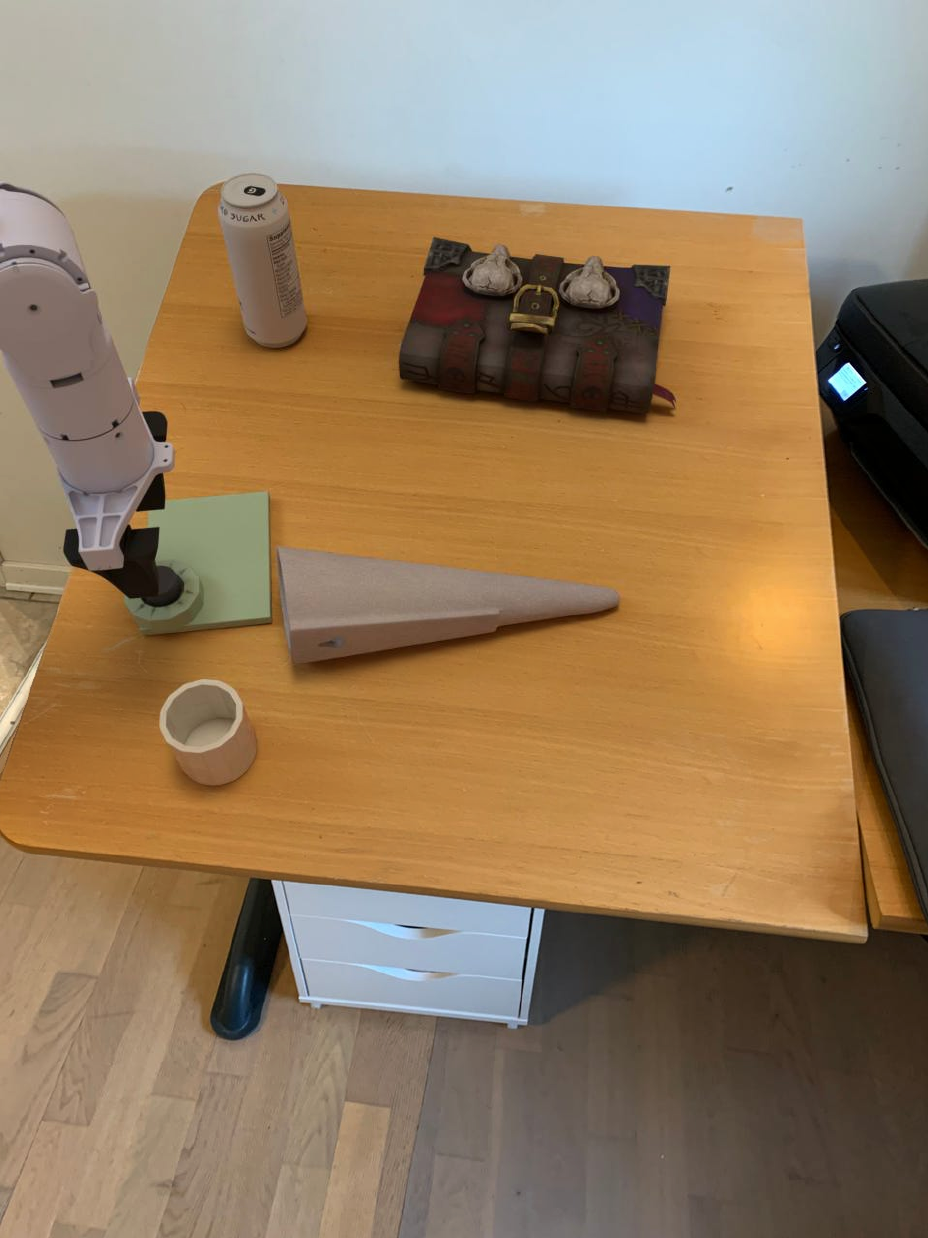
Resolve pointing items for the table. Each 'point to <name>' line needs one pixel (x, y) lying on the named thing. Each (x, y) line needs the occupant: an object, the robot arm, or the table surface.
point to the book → (537, 328)
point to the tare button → (166, 587)
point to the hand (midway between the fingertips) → (147, 548)
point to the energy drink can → (262, 259)
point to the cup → (208, 731)
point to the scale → (212, 564)
